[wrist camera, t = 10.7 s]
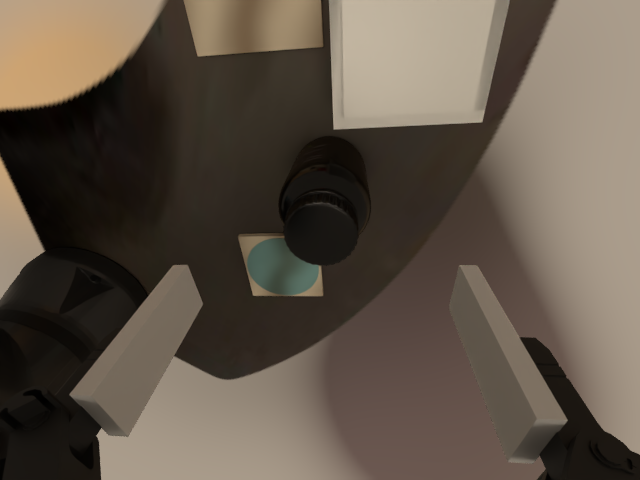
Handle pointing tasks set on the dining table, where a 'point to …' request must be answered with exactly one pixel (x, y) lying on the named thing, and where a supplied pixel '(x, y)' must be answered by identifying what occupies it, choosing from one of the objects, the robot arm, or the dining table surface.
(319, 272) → the board
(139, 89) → the dining table surface
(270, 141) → the dining table surface
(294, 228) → the supplement bottle
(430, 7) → the grey box
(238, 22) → the board
